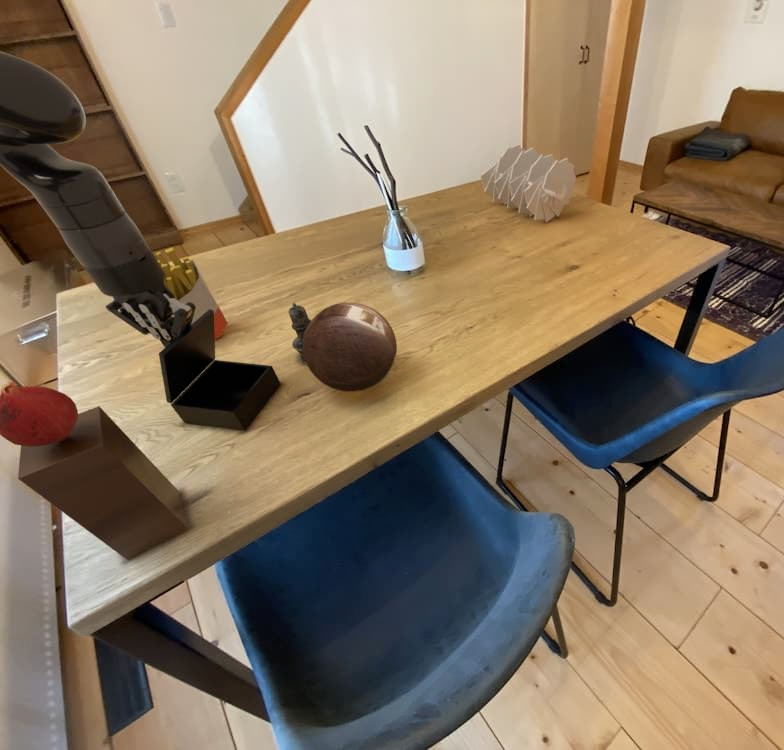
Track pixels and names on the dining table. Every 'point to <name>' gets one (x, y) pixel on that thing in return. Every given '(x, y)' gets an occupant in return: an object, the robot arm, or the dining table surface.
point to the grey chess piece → (299, 327)
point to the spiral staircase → (530, 182)
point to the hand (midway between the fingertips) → (182, 354)
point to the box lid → (188, 356)
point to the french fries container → (190, 288)
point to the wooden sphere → (349, 347)
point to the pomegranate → (35, 415)
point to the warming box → (227, 395)
